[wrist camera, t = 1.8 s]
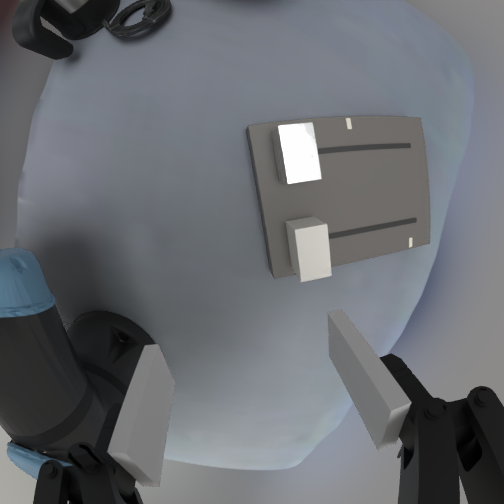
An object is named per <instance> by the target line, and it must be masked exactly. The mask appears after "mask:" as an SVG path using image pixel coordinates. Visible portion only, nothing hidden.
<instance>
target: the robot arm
mask: <svg viewBox="0 0 504 504" xmlns="http://www.w3.org/2000/svg"><path fill="white" fill-rule="evenodd" d="M55 302H56V300H55V298H54V295H53V294H52V293H51V292H50V290H49V288H48V285H47V283H46V280H45V277H44V275H43V272H42V269H41V266H40V264H39V262H38V260H37V258H36V257H35V255H34V254H33V253H31V252H30V251H28V250H26V249H23V248H7V249H0V425H1V426H2V428H3V429H4V430H5V431H6V432H7V434H8V435H9V436H10V437H11V438H12V440H11V442H8V444H7V446H8V448H7V454H8V457H9V458H10V460H11V461H12V462H13V463H14V464H15V465H16V466H18V467H19V468H20V469H22V470H23V471H24V472H26V473H27V474H29V475H30V476H32V477H33V478H35V479H37V484H36V489H35V495H34V501H33V504H67V501H69V504H143V502H142V499H141V497H140V494H139V492H138V490H137V488H135V481H138V482H139V483H140V484H141V485H142V486H152V487H160V479H161V470H162V463H163V457H164V450H165V443H166V437H167V430H168V424H169V418H170V412H171V406H172V401H173V395H174V390H175V384H176V383H175V381H174V378H173V376H172V374H171V372H170V370H169V367H168V365H167V363H166V360H165V358H164V356H163V353H162V351H161V349H160V346H159V344H155V343H154V342H153V340H152V339H151V338H150V336H149V335H148V334H147V333H146V332H145V331H144V330H142V329H141V328H140V327H139V326H137V325H136V324H135V323H133V322H131V321H130V320H128V319H126V318H124V317H122V316H120V315H117V314H114V313H110V312H104V311H93V312H89V313H86V314H83V315H81V316H80V317H79V318H77V319H76V321H75V322H74V323H73V324H72V325H71V327H70V328H69V329H68V331H67V333H66V330H65V328H64V326H63V323H62V321H61V319H60V316H59V314H58V311H57V309H56V306H55ZM328 334H329V356H330V358H331V360H332V362H333V364H334V366H335V367H336V369H337V371H338V373H339V375H340V377H341V379H342V381H343V383H344V385H345V387H346V389H347V391H348V392H349V394H350V396H351V398H352V400H353V402H354V404H355V406H356V408H357V410H358V412H359V414H360V416H361V418H362V420H363V422H364V424H365V426H366V428H367V430H368V432H369V434H370V436H371V438H372V440H373V441H374V444H375V445H376V448H377V450H378V451H380V450H383V449H385V448H388V447H390V446H392V445H394V444H396V442H397V440H398V437H399V438H400V439H401V441H402V443H403V444H402V447H401V449H400V451H399V453H398V456H397V458H400V456H401V470H400V486H399V497H398V504H460V490H459V488H460V487H459V476H460V479H461V482H462V485H463V488H464V491H465V494H466V497H467V501H468V504H504V407H503V405H502V403H501V402H500V400H499V399H498V397H497V396H496V394H495V393H494V392H493V390H492V389H490V388H488V387H484V386H479V387H476V388H474V389H473V390H471V391H470V393H469V394H468V396H467V398H464V399H461V400H457V401H453V402H446V401H444V400H442V399H440V398H433V397H432V396H431V395H430V394H429V393H428V391H427V390H426V389H425V388H424V387H423V385H422V384H421V383H420V381H419V380H418V379H417V378H416V377H415V375H414V374H412V372H411V370H410V369H409V368H407V365H406V364H405V363H404V362H403V361H402V359H401V358H399V357H397V356H395V355H393V354H388V355H386V356H383V357H380V358H379V357H378V356H377V354H376V353H375V352H374V350H373V349H372V348H371V346H370V345H369V344H368V342H367V341H366V340H365V338H364V337H363V336H362V334H361V333H360V332H359V330H358V329H357V328H356V327H355V325H354V324H353V323H352V321H351V320H350V319H349V317H348V316H347V315H346V314H345V312H344V311H343V310H342V309H340V310H337V311H333V312H329V313H328Z"/></svg>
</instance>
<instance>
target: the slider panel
mask: <svg viewBox="0 0 504 504" xmlns="http://www.w3.org/2000/svg"><path fill="white" fill-rule="evenodd" d="M300 123H313V128H314V134H315V139H316V145H317V151H318V158H319V164H320V171H321V178H322V179H318V180H311V181H304V182H297V183H291V184H286V183H282V182H279V177H278V171H277V165H276V159H275V153H274V148H273V142H272V136H271V131H273V130H274V129H275V128H276V127H277V126H281V125H290V124H300ZM246 132H247V138H248V143H249V149H250V154H251V160H252V165H253V171H254V177H255V183H256V188H257V194H258V200H259V206H260V212H261V218H262V224H263V230H264V236H265V242H266V248H267V254H268V260H269V266H270V270H271V273H272V275H273V277H274V279H276V278H281V277H286V276H291V275H296V273H295V272H294V270H293V269H292V265H291V258H290V250H289V243H288V236H287V229H286V222H285V221H290V220H296V219H301V218H307V217H313V216H314V217H316V218H318V219H319V220H321V221H323V222H325V223H326V224H327V227H328V237H329V248H330V261H331V267H333V266H338V265H342V264H347V263H351V262H355V261H360V260H364V259H369V258H373V257H377V256H381V255H386V254H390V253H394V252H398V251H402V250H406V249H410V248H414V247H418V246H422V245H426V244H430V194H429V178H428V166H427V157H426V148H425V141H424V134H423V128H422V122H421V118H418V117H397V116H348V117H326V118H311V119H299V120H289V121H280V122H272V123H264V124H257V125H250V126H248V127H247V129H246Z"/></svg>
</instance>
